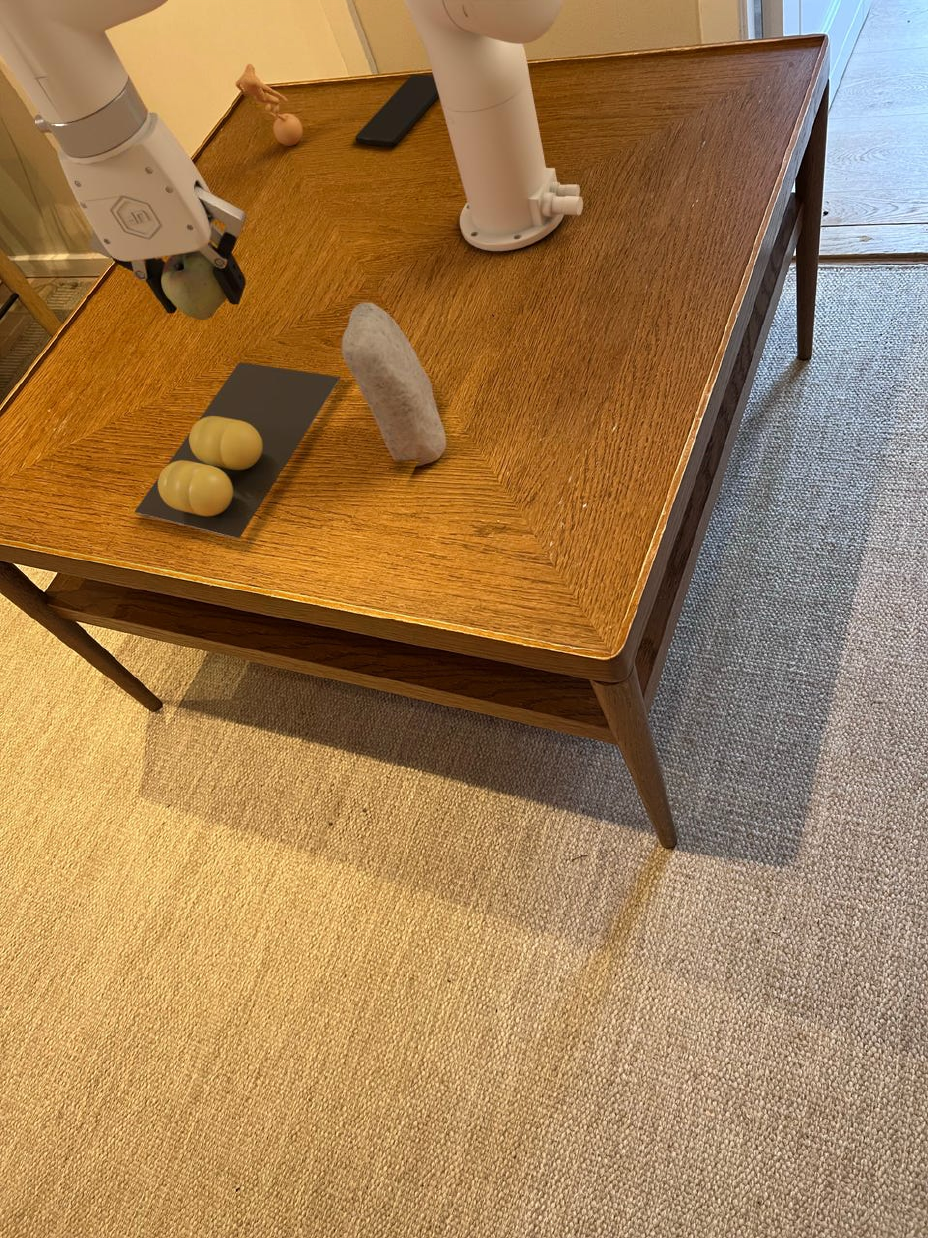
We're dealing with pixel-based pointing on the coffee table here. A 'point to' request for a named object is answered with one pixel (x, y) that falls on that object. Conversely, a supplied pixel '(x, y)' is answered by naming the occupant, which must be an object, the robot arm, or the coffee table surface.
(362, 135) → the smartphone
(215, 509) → the bread roll
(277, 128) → the figurine
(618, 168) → the coffee table surface
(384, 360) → the decorative stone
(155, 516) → the serving board
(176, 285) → the apple
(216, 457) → the yellow lobed bun
